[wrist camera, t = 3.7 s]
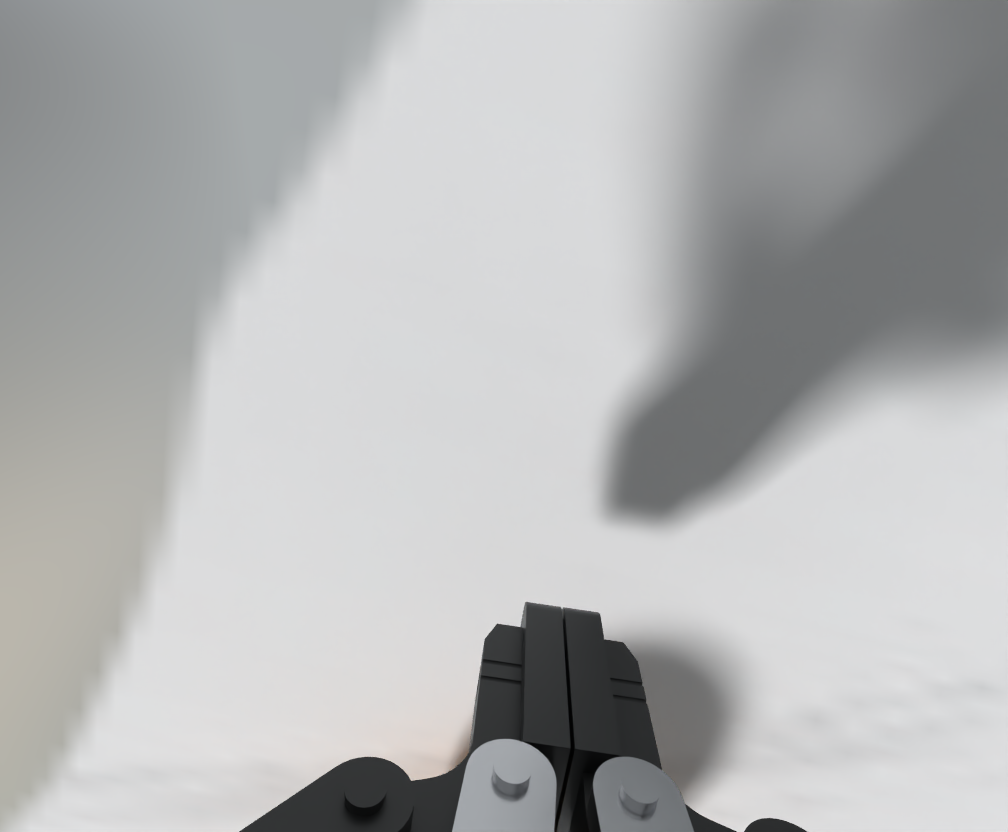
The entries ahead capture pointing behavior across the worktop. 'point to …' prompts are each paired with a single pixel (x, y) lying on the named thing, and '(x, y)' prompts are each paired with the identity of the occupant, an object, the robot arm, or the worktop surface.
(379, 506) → the worktop surface
